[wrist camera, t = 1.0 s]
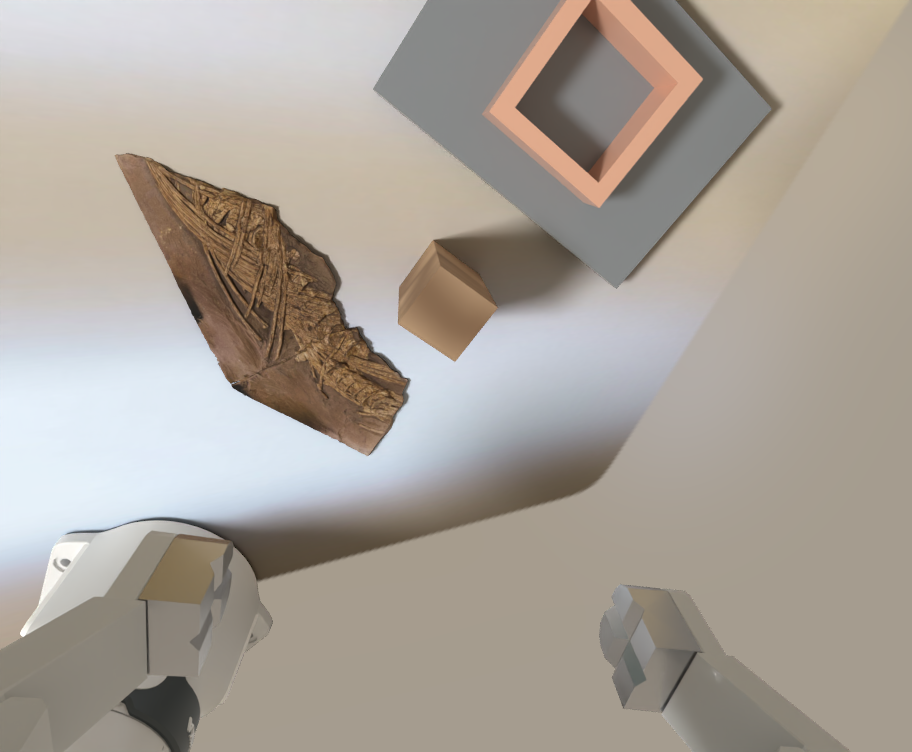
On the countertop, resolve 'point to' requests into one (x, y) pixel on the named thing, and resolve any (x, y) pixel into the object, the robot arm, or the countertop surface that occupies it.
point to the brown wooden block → (444, 302)
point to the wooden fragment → (266, 307)
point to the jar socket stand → (577, 112)
